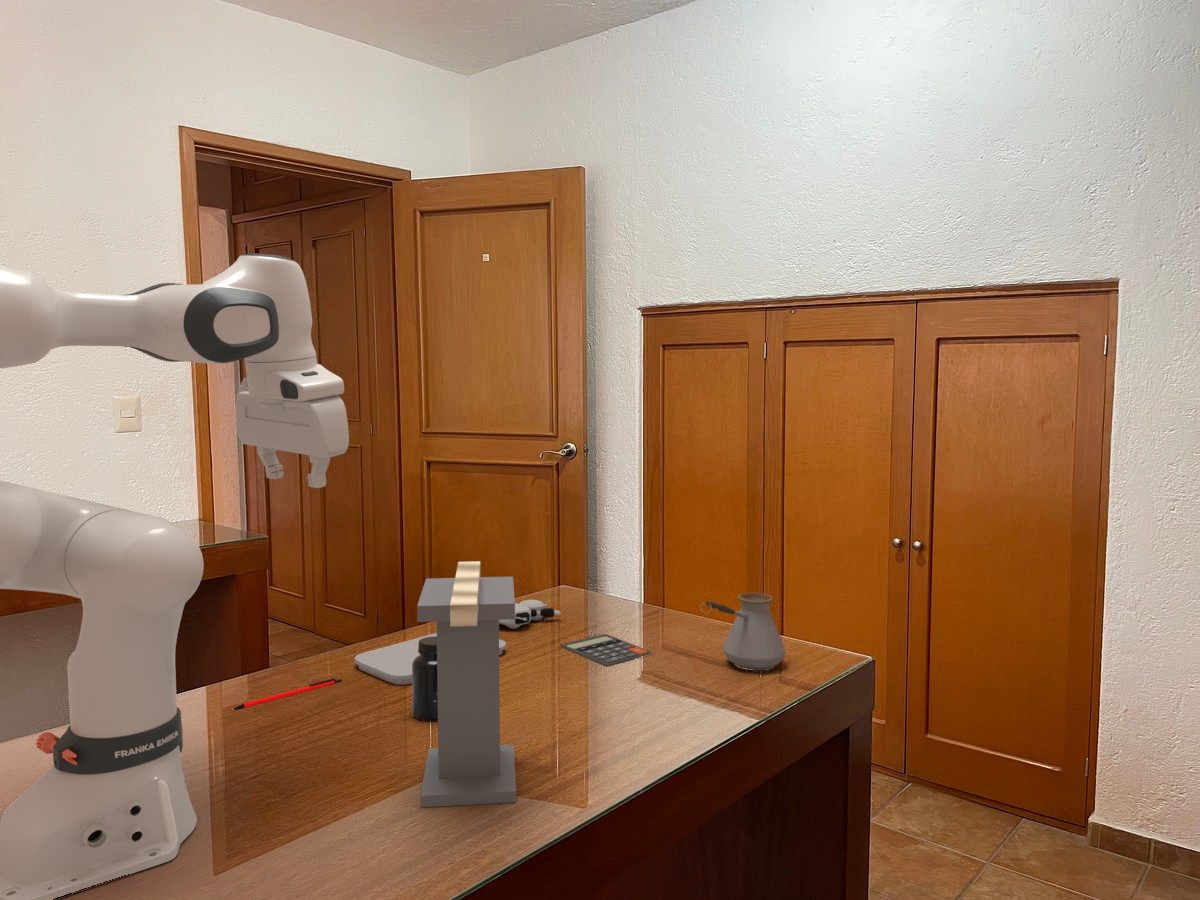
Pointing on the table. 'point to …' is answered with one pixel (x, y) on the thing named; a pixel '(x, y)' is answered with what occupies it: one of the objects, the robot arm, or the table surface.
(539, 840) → the table surface
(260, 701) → the pen
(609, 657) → the calculator
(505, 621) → the robot toy
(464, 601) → the maple bar
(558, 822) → the table surface
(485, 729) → the charcoal stand
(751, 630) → the coffee pot
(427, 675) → the supplement bottle
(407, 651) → the tablet
